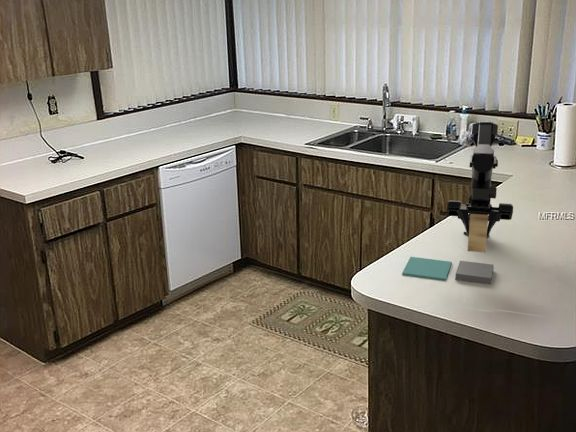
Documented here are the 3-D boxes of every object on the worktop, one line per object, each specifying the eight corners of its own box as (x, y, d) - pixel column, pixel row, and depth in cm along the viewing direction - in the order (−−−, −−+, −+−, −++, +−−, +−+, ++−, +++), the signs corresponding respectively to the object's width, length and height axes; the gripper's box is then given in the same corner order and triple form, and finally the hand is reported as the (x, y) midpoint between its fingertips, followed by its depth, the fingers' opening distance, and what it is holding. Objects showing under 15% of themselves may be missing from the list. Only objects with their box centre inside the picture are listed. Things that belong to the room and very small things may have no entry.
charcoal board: (459, 266, 198) (459, 260, 197) (493, 270, 194) (493, 264, 193) (455, 279, 189) (455, 273, 188) (490, 284, 185) (490, 278, 185)
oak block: (468, 244, 191) (470, 213, 188) (485, 246, 190) (487, 214, 187) (467, 251, 187) (469, 219, 184) (485, 252, 186) (488, 220, 182)
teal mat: (410, 258, 204) (410, 256, 204) (451, 263, 200) (451, 261, 200) (402, 274, 193) (402, 272, 193) (445, 280, 188) (445, 278, 188)
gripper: (449, 174, 187) (444, 222, 181) (515, 177, 182) (513, 227, 176) (449, 191, 197) (444, 237, 191) (512, 195, 192) (510, 242, 186)
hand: (477, 235), depth 186 cm, fingers closed on oak block, 5 cm apart
